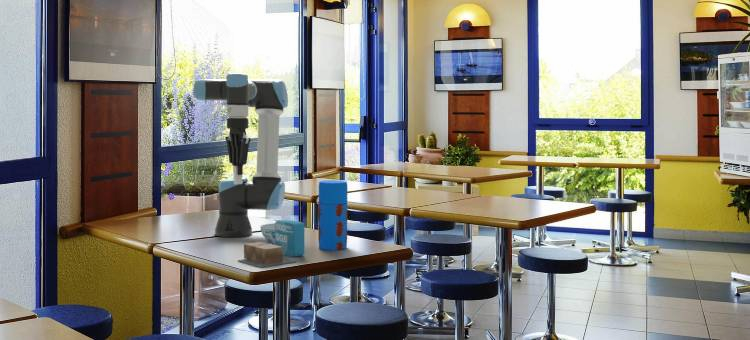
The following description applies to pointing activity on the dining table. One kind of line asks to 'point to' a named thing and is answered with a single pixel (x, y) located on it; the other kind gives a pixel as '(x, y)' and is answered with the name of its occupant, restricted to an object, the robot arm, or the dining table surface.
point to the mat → (261, 265)
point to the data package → (290, 237)
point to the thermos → (332, 215)
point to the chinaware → (269, 232)
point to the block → (263, 252)
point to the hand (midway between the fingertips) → (238, 183)
